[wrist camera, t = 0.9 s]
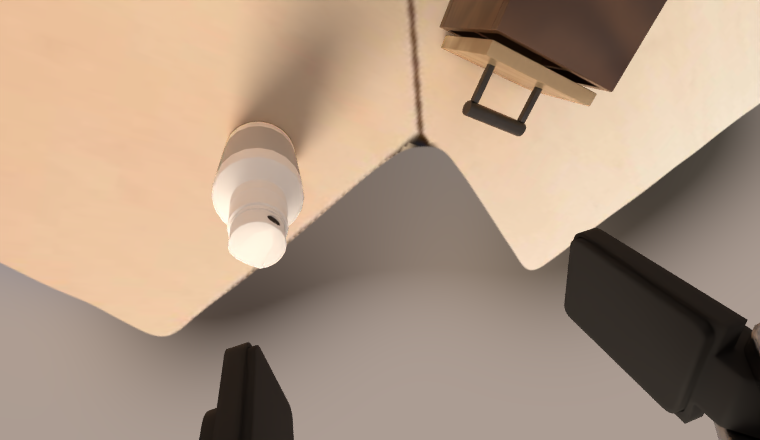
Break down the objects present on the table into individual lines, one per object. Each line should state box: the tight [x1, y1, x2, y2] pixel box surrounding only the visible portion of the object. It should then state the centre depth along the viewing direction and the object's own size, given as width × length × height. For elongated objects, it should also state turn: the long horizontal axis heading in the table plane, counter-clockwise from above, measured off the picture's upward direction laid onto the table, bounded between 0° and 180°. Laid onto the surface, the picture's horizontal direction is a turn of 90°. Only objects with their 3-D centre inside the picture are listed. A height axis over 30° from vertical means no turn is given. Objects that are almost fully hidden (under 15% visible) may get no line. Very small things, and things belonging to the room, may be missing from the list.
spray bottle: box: [212, 121, 304, 268], centre depth 30 cm, size 7×7×18 cm
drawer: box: [441, 32, 596, 136], centre depth 33 cm, size 20×12×9 cm, turn 158°
